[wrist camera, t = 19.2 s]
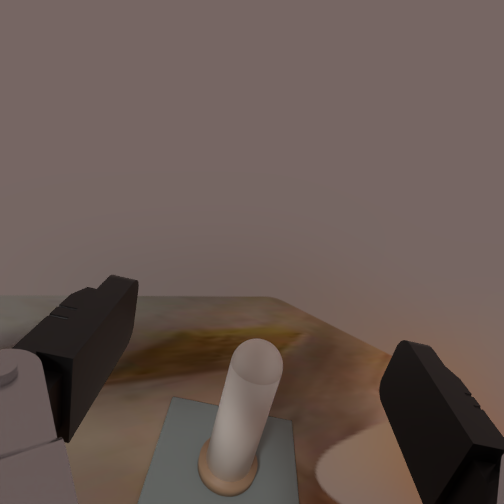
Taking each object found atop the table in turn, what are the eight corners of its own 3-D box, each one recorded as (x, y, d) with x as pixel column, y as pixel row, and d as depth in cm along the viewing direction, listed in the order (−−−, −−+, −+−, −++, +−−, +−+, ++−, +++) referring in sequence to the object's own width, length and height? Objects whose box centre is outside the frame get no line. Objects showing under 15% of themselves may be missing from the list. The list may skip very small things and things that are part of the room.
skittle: (192, 490, 35) (225, 359, 29) (203, 435, 41) (232, 318, 35) (253, 502, 35) (299, 375, 29) (255, 446, 41) (293, 332, 35)
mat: (135, 511, 32) (135, 509, 32) (172, 398, 45) (172, 396, 45) (301, 542, 33) (302, 540, 33) (291, 422, 46) (291, 420, 46)
